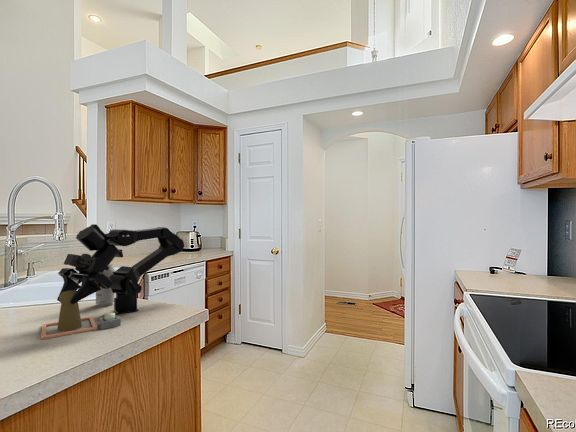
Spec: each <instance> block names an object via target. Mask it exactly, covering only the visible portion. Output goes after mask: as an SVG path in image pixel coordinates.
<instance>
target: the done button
mask: <svg viewBox="0 0 576 432" xmlns="http://www.w3.org/2000/svg"><path fill="white" fill-rule="evenodd" d="M115 315H116V312H107V313H104V317H105V321H108V320H114V319H115Z"/></svg>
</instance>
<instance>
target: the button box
mask: <svg viewBox="0 0 576 432" xmlns="http://www.w3.org/2000/svg"><path fill="white" fill-rule="evenodd" d="M98 322H99V323H98V324H99V327H100V329H101V330H105V329H109V328H117V327H120V326H121V318H120V316H119V314H117V315H116V314H115V319H114V320H108V321H105V316H104V317H103V316H102V317H99V319H98Z"/></svg>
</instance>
